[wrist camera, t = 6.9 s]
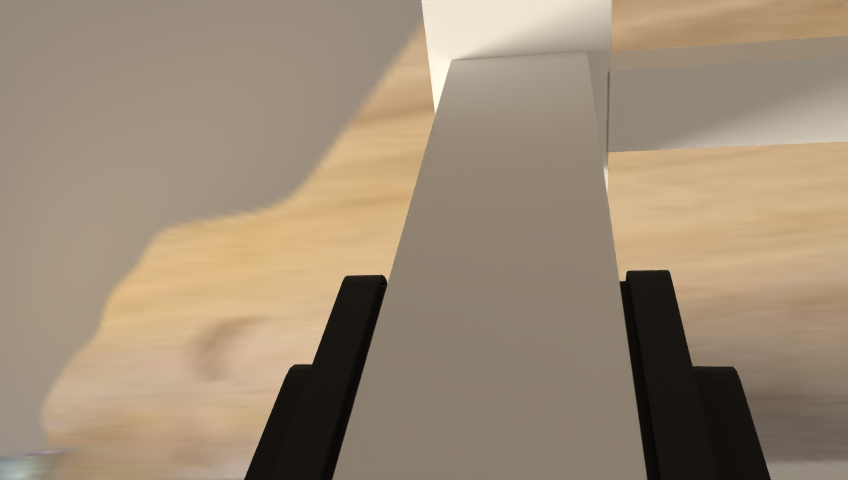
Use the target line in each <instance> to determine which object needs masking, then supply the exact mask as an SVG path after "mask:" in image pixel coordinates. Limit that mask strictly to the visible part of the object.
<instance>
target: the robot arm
mask: <svg viewBox="0 0 848 480" xmlns="http://www.w3.org/2000/svg"><path fill="white" fill-rule="evenodd" d="M619 283H620V290H621V297H622V304H623V311H624V318H625V325H626V332H627V340H628V347H629V354H630V361H631V368H632V375H633V382H634V389H635V396H636V403H637V411H638V418H639V425H640V432H641V439H642V446H643V453H644V460H645V467H646V474H647V480H771V479H770V476H769V472H768V469H767V466H766V462H765V459H764V456H763V453H762V449H761V446H760V443H759V439H758V436H757V433H756V430H755V426H754V423H753V420H752V417H751V413H750V410H749V407H748V404H747V400H746V397H745V394H744V391H743V387H742V384H741V381H740V378H739V376H738V373H737V371H736V370H735V368H734V367H706V366H692V363H691V359H690V355H689V350H688V346H687V342H686V338H685V333H684V329H683V325H682V321H681V317H680V312H679V308H678V304H677V300H676V295H675V291H674V287H673V283H672V279H671V275H670V272H669V271H668V270H646V271H627V274H626V281H619ZM386 288H387V280H386V278H385V276H383V275H356V276H346V277H345V278H344V280H343V282H342V284H341V287H340V290H339V293H338V295H337V298H336V301H335V304H334V306H333V309H332V312H331V314H330V317H329V320H328V323H327V325H326V328H325V331H324V334H323V336H322V339H321V342H320V344H319V347H318V350H317V353H316V355H315V358H314V361H313V364H295V365H293V366H292V367H291V368H290V369H289V371H288V373H287V375H286V377H285V379H284V382H283V384H282V387H281V389H280V392H279V394H278V397H277V399H276V402H275V404H274V407H273V409H272V412H271V414H270V417H269V419H268V422H267V424H266V427H265V429H264V431H263V434H262V436H261V439H260V441H259V444H258V446H257V449H256V451H255V454H254V456H253V459H252V461H251V464H250V466H249V469H248V471H247V474H246V476H245V479H244V480H332V479H333V475H334V472H335V468H336V465H337V461H338V458H339V454H340V451H341V447H342V444H343V440H344V436H345V433H346V429H347V426H348V422H349V419H350V415H351V412H352V408H353V405H354V401H355V398H356V394H357V391H358V387H359V383H360V380H361V376H362V373H363V369H364V366H365V362H366V359H367V355H368V352H369V348H370V345H371V341H372V338H373V334H374V330H375V327H376V323H377V320H378V316H379V313H380V309H381V306H382V302H383V299H384V295H385V292H386Z"/></svg>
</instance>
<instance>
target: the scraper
mask: <svg viewBox="0 0 848 480" xmlns="http://www.w3.org/2000/svg"><path fill="white" fill-rule="evenodd" d="M422 8H423V16H424V24H425V33H426V41H427V49H428V57H429V66H430V74H431V82H432V91H433V99H434V107H435V118H434V122H433V125H432V129H431V132H430V136H429V140H428V143H427V147H426V150H425V154H424V157H423V161H422V164H421V168H420V171H419V175H418V178H417V182H416V186H415V189H414V193H413V196H412V200H411V203H410V207H409V210H408V214H407V217H406V221H405V224H404V228H403V231H402V235H401V239H400V242H399V246H398V249H397V253H396V256H395V260H394V263H393V267H392V270H391V274H390V277H389V281H388V284H387V288H386V292H385V295H384V299H383V302H382V306H381V309H380V313H379V316H378V320H377V323H376V327H375V330H374V334H373V338H372V341H371V345H370V348H369V352H368V355H367V359H366V362H365V366H364V369H363V373H362V376H361V380H360V383H359V387H358V391H357V394H356V398H355V401H354V405H353V408H352V412H351V415H350V419H349V422H348V426H347V429H346V433H345V436H344V440H343V444H342V447H341V451H340V454H339V458H338V461H337V465H336V468H335V472H334V475H333V479H332V480H647V474H646V467H645V460H644V453H643V446H642V439H641V432H640V425H639V418H638V411H637V403H636V396H635V389H634V382H633V375H632V368H631V361H630V354H629V347H628V340H627V332H626V325H625V318H624V311H623V304H622V297H621V290H620V283H619V276H618V269H617V261H616V254H615V247H614V240H613V233H612V226H611V219H610V212H609V205H608V198H607V187H608V152H623V151H645V150H667V149H690V148H712V147H734V146H757V145H779V144H801V143H824V142H846V141H848V36H836V37H822V38H807V39H792V40H778V41H763V42H748V43H734V44H719V45H705V46H690V47H675V48H661V49H646V50H631V51H617V52H610V46H611V0H422Z"/></svg>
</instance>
